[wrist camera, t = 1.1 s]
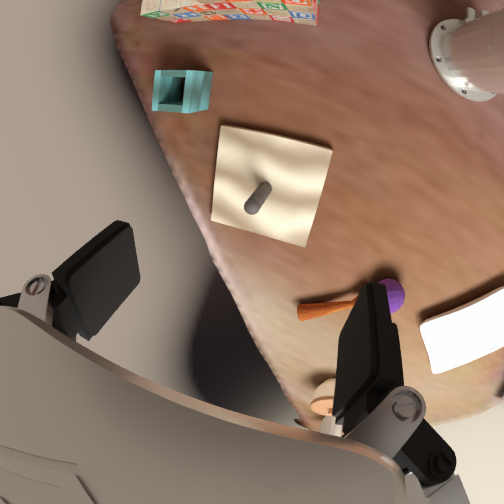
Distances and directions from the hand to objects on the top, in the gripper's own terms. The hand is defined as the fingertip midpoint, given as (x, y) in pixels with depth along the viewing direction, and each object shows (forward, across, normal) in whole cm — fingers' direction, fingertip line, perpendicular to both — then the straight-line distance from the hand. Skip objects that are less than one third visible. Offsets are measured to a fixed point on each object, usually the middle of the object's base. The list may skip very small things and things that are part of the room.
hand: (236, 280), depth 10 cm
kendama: (+32, -14, +25) cm, 42 cm away
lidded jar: (+32, -21, +56) cm, 68 cm away
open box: (+31, +18, -6) cm, 36 cm away
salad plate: (+31, -44, +26) cm, 60 cm away
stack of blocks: (+31, +11, -21) cm, 39 cm away
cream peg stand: (+31, +4, +8) cm, 32 cm away
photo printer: (+32, -28, +76) cm, 87 cm away
